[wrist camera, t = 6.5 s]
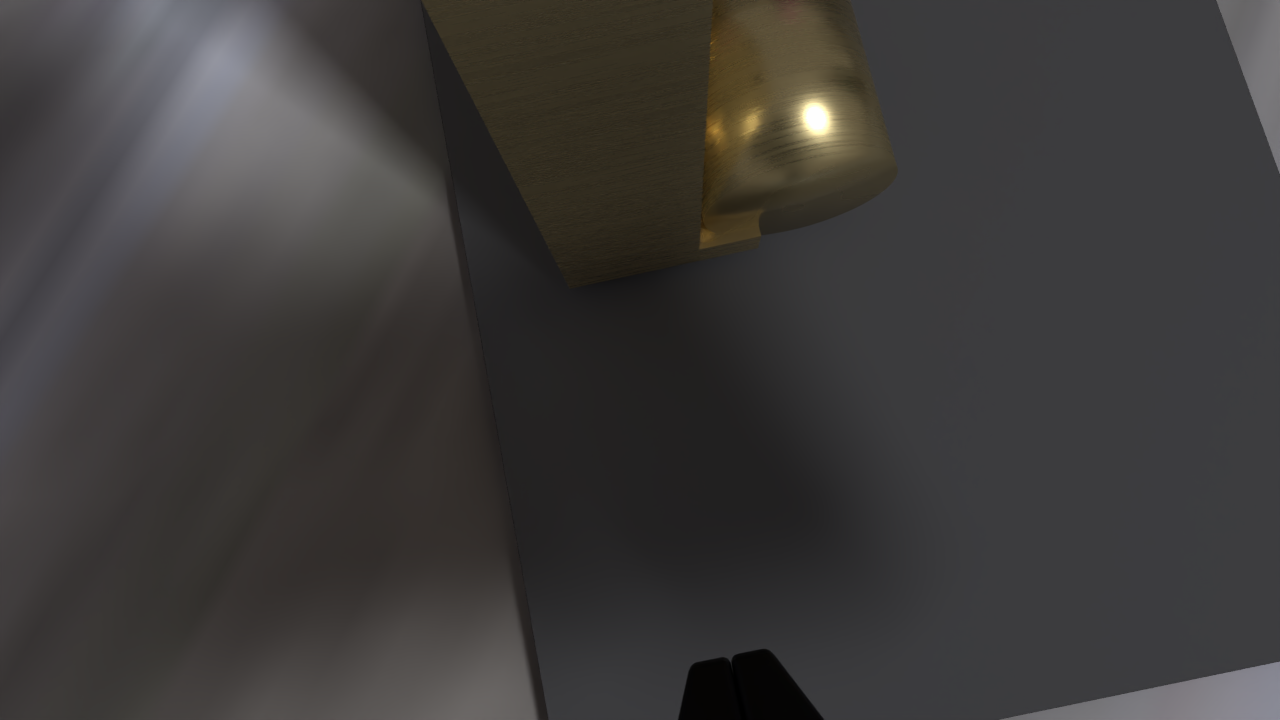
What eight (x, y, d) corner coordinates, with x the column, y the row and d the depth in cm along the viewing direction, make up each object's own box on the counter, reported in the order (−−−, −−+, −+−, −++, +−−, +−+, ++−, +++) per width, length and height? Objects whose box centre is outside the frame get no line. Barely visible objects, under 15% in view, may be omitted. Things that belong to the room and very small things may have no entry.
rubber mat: (1424, 624, 15) (1445, 626, 14) (567, 801, 15) (564, 809, 15) (1000, -551, 19) (1007, -572, 19) (352, -403, 20) (346, -422, 19)
